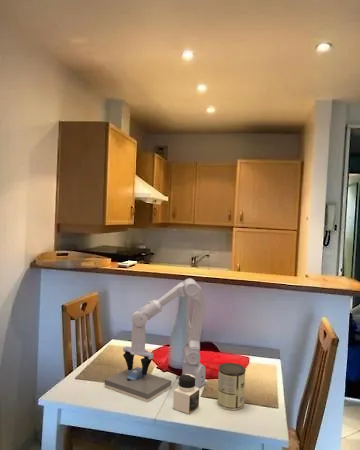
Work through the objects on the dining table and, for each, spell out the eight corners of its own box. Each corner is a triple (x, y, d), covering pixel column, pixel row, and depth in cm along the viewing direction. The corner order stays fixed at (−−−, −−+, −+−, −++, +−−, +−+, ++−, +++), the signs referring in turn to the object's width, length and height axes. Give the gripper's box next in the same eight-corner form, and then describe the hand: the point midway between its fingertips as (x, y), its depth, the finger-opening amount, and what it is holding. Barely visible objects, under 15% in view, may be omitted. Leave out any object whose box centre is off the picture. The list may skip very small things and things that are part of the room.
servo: (147, 378, 176) (147, 367, 175) (132, 385, 167) (133, 374, 167) (139, 376, 178) (140, 365, 178) (125, 383, 170) (125, 372, 169)
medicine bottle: (189, 414, 148) (190, 381, 148) (172, 408, 152) (174, 376, 151) (199, 407, 154) (200, 375, 154) (182, 401, 158) (184, 370, 157)
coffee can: (218, 396, 164) (220, 361, 163) (244, 400, 161) (246, 364, 161) (215, 408, 154) (216, 371, 153) (242, 412, 151) (244, 374, 151)
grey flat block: (171, 387, 170) (171, 380, 170) (147, 402, 156) (148, 394, 156) (129, 374, 181) (129, 367, 181) (104, 386, 168) (104, 379, 168)
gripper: (118, 338, 173) (117, 370, 173) (146, 346, 165) (145, 379, 165) (129, 335, 179) (128, 365, 179) (156, 341, 171) (155, 373, 171)
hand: (137, 372), depth 173 cm, fingers open, 7 cm apart
